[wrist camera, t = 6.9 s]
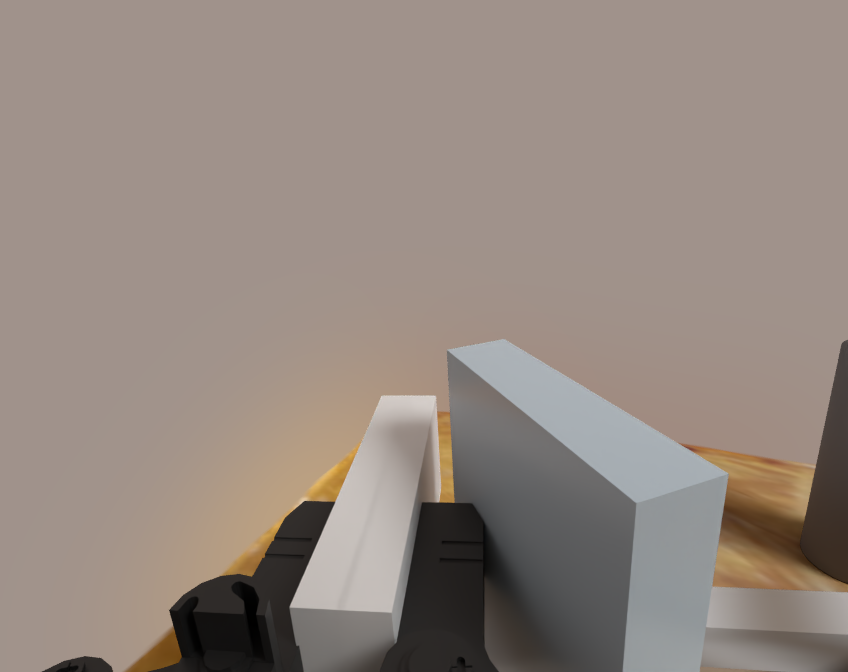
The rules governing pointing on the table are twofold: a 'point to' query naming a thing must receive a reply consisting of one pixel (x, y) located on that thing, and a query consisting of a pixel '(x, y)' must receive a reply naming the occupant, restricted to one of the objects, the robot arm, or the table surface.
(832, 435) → the screwdriver
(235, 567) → the table surface
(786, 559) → the table surface
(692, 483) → the dial
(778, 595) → the dial housing
